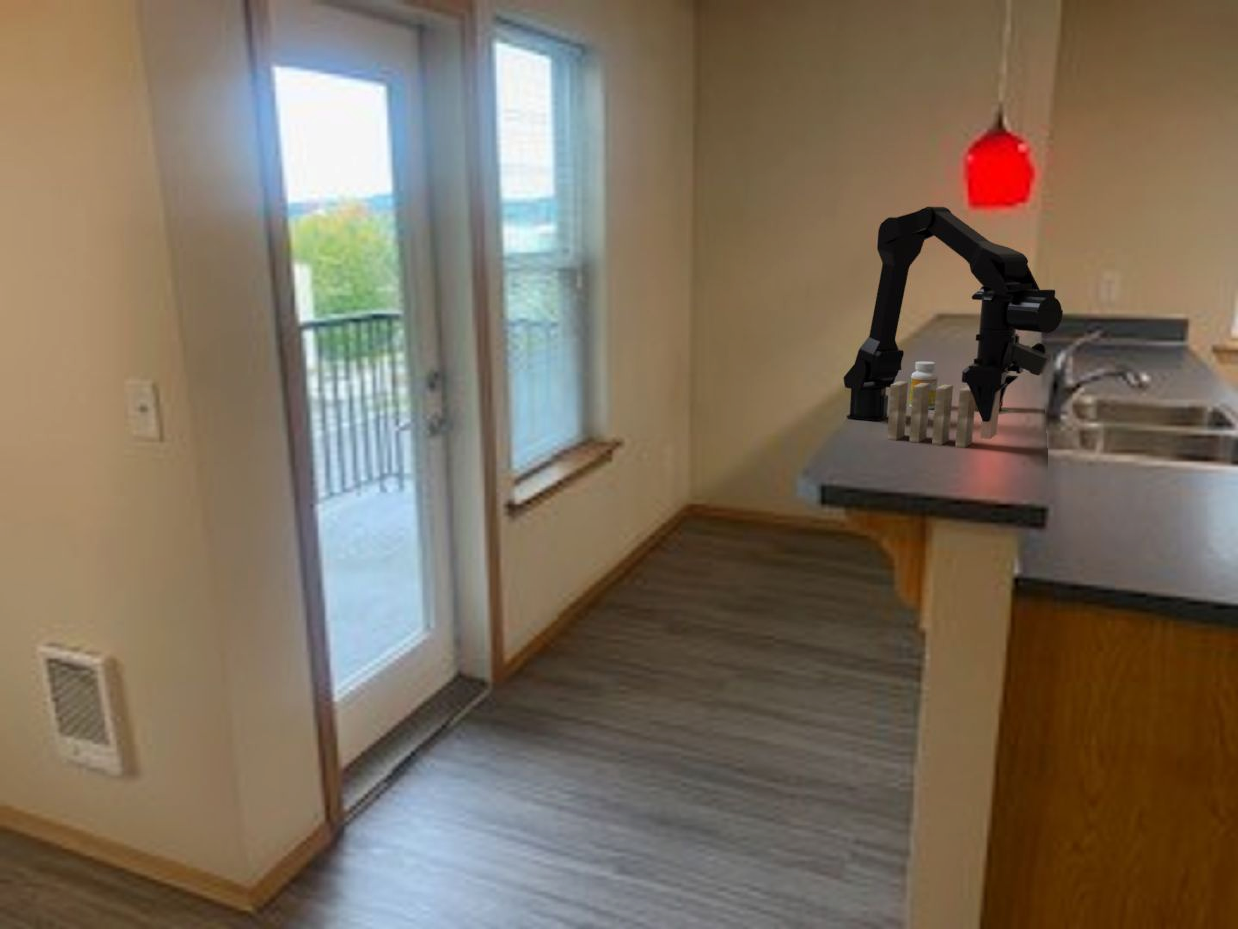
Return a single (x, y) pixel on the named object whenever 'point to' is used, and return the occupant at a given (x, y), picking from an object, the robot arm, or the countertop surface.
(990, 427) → the domino
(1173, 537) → the countertop surface
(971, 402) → the domino
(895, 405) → the domino
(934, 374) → the supplement bottle
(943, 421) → the domino
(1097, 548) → the countertop surface
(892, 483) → the countertop surface
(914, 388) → the domino
